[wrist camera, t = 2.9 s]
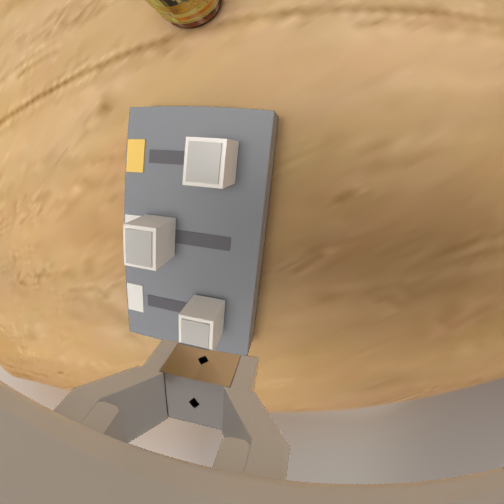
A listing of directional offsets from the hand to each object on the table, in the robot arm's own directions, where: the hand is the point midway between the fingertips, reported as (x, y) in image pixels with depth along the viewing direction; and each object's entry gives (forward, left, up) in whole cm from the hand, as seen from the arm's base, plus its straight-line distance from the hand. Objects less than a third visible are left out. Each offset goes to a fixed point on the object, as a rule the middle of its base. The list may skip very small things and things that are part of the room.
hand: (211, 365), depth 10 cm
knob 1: (+10, +2, -18) cm, 21 cm away
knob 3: (+5, +9, -18) cm, 21 cm away
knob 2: (+5, -5, -18) cm, 19 cm away
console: (+7, +2, -22) cm, 24 cm away
